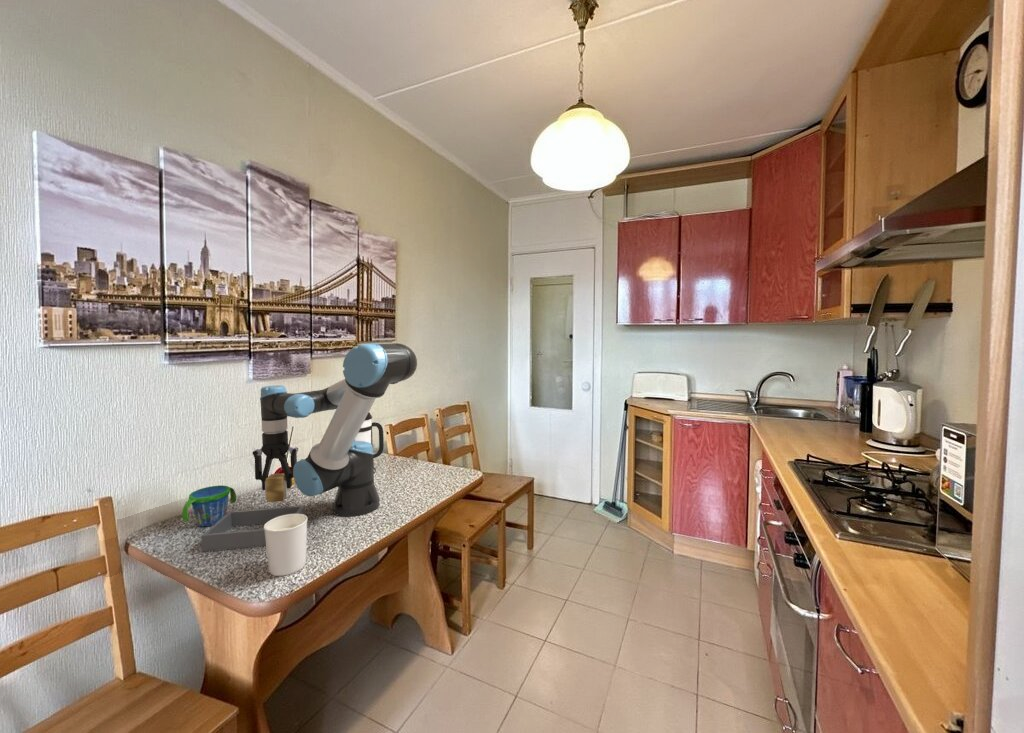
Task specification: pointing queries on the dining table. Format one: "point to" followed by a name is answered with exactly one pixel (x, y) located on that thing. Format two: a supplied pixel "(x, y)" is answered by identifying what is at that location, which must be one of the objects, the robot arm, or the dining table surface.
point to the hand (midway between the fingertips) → (277, 497)
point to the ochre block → (275, 487)
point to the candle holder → (286, 543)
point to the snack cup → (209, 504)
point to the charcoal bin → (240, 539)
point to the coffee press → (370, 434)
